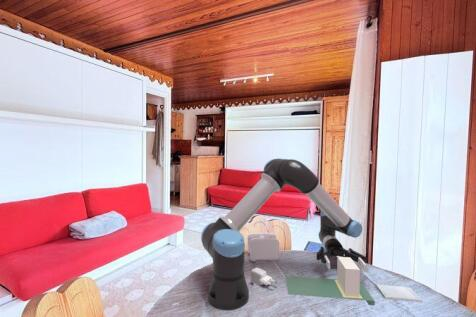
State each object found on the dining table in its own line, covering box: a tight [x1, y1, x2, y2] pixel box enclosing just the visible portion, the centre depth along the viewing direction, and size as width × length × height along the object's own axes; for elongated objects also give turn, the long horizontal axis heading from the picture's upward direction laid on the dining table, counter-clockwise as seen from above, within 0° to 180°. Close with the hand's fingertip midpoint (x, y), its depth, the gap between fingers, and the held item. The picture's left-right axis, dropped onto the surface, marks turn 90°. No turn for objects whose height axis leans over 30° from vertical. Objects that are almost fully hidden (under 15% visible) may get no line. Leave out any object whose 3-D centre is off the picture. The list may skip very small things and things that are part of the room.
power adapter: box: [250, 267, 279, 287], centre depth 94 cm, size 11×5×6 cm, turn 46°
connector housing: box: [336, 256, 361, 297], centre depth 90 cm, size 5×10×10 cm, turn 173°
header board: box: [285, 275, 376, 306], centre depth 91 cm, size 30×13×6 cm, turn 83°
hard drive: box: [375, 284, 423, 303], centre depth 90 cm, size 2×8×12 cm
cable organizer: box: [247, 232, 280, 263], centre depth 120 cm, size 15×11×12 cm
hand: (347, 267), depth 93 cm, fingers open, 13 cm apart
